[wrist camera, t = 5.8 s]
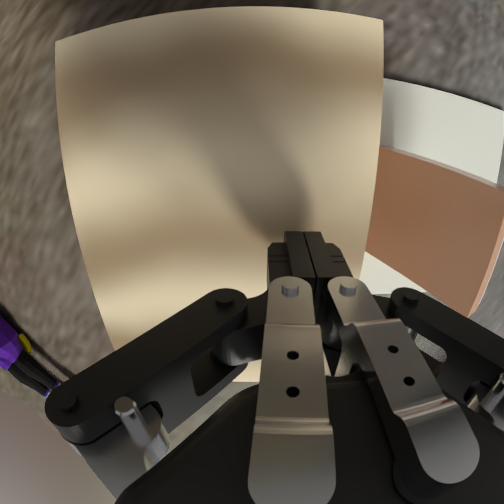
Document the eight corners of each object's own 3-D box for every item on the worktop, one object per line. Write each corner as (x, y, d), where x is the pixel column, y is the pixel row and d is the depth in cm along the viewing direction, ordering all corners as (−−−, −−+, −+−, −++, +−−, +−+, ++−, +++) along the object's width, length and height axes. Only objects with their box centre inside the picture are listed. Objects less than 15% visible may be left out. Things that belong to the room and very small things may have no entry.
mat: (370, 76, 16) (372, 76, 16) (502, 111, 16) (506, 112, 15) (346, 291, 24) (347, 295, 23) (463, 286, 23) (465, 289, 23)
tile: (509, 194, 10) (518, 191, 11) (373, 145, 17) (392, 145, 18) (466, 318, 13) (480, 305, 14) (359, 248, 20) (378, 242, 21)
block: (116, 52, 15) (55, 41, 9) (340, 42, 15) (382, 20, 9) (149, 309, 25) (124, 372, 19) (318, 312, 25) (334, 379, 18)
